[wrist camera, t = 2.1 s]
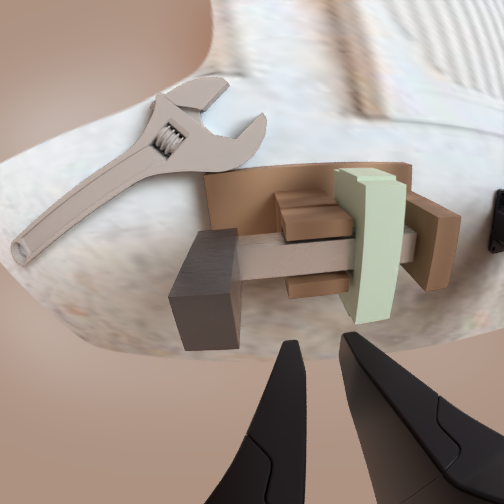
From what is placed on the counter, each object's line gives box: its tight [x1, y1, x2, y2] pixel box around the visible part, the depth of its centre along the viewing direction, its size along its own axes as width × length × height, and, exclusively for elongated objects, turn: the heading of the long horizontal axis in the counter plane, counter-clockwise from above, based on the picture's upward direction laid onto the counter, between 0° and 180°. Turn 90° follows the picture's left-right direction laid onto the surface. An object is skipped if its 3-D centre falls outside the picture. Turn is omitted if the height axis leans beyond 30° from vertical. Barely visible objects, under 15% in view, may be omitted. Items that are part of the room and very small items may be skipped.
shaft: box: [168, 224, 417, 351], centre depth 12 cm, size 11×2×6 cm, turn 96°
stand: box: [204, 162, 461, 299], centre depth 15 cm, size 14×7×8 cm, turn 96°
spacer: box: [334, 168, 407, 325], centre depth 14 cm, size 2×7×5 cm, turn 5°
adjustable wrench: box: [11, 77, 267, 266], centre depth 17 cm, size 25×6×2 cm, turn 109°
